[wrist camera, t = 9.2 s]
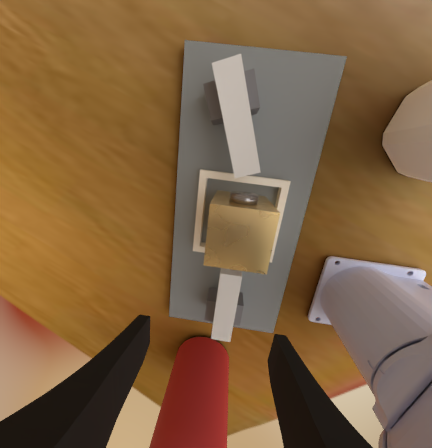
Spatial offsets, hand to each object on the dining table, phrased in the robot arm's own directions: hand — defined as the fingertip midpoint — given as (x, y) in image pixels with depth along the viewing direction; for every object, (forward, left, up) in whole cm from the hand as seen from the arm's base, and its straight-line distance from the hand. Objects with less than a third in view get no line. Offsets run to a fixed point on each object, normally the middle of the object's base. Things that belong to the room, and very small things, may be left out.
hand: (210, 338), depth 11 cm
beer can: (0, +14, -11) cm, 18 cm away
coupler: (-1, -5, -9) cm, 11 cm away
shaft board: (-1, -5, -10) cm, 12 cm away
